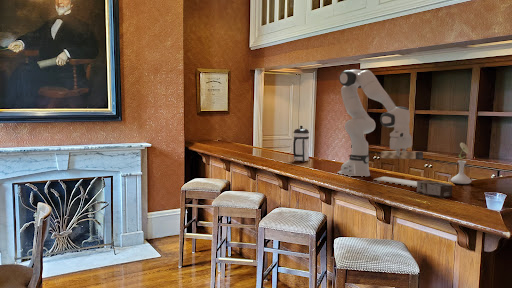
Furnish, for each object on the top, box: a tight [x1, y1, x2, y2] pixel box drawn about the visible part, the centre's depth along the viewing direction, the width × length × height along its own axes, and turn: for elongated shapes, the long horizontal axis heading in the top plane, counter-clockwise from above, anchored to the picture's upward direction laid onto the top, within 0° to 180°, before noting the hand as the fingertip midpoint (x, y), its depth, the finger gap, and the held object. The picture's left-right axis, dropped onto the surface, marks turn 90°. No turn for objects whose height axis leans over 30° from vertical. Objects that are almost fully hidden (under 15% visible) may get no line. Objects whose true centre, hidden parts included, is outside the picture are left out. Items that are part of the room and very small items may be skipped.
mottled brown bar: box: [380, 150, 424, 160], centre depth 253 cm, size 26×4×4 cm, turn 39°
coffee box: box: [416, 179, 453, 199], centre depth 223 cm, size 9×6×16 cm
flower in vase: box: [450, 142, 472, 185], centre depth 250 cm, size 13×11×25 cm
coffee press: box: [292, 125, 311, 164], centre depth 340 cm, size 17×16×30 cm
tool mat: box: [373, 176, 418, 188], centre depth 255 cm, size 30×12×1 cm, turn 41°
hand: (400, 155), depth 253 cm, fingers closed on mottled brown bar, 4 cm apart
